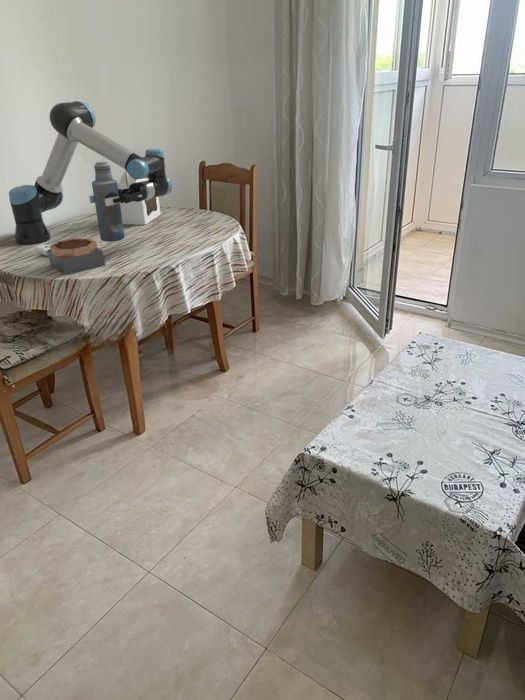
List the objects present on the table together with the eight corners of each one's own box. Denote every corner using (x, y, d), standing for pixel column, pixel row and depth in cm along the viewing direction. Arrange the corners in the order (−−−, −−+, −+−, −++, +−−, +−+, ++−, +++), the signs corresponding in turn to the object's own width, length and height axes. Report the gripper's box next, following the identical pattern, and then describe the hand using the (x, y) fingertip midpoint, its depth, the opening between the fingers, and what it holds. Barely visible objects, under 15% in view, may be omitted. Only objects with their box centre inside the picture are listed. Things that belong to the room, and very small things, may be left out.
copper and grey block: (50, 264, 210) (45, 243, 206) (88, 256, 218) (85, 236, 214) (65, 274, 198) (60, 252, 194) (105, 265, 207) (101, 244, 203)
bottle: (107, 243, 210) (95, 164, 196) (96, 238, 217) (84, 161, 202) (129, 239, 215) (119, 162, 201) (118, 234, 222) (107, 159, 208)
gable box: (137, 214, 284) (130, 159, 271) (160, 214, 281) (154, 159, 268) (120, 224, 264) (111, 166, 251) (145, 225, 262) (137, 166, 249)
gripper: (160, 203, 217) (117, 214, 201) (125, 197, 229) (82, 207, 212) (158, 184, 214) (114, 194, 198) (122, 179, 225) (78, 188, 209)
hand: (97, 201), depth 205 cm, fingers closed on bottle, 9 cm apart
